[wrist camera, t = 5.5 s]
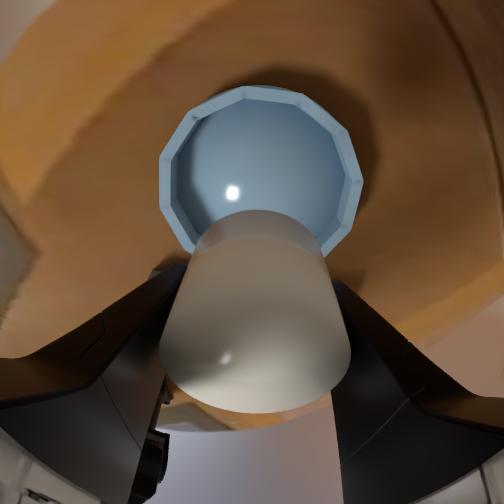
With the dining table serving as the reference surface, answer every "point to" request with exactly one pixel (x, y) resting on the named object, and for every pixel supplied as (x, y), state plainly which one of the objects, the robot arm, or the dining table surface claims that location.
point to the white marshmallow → (256, 318)
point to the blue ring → (260, 165)
